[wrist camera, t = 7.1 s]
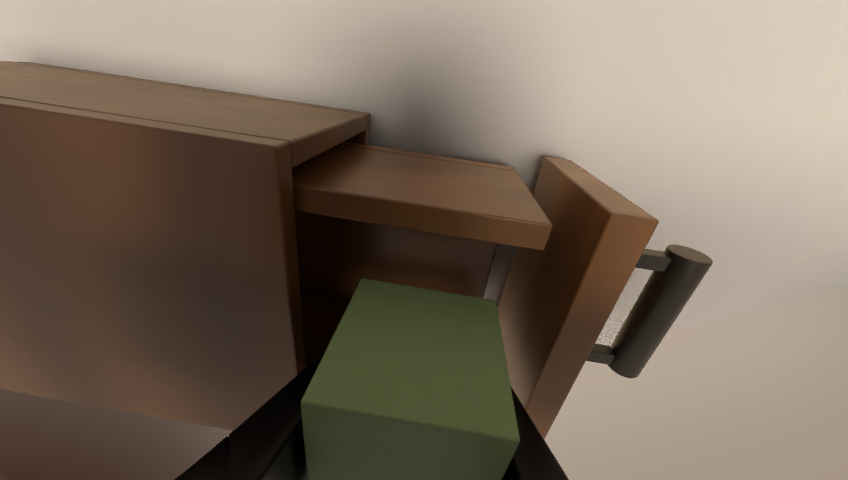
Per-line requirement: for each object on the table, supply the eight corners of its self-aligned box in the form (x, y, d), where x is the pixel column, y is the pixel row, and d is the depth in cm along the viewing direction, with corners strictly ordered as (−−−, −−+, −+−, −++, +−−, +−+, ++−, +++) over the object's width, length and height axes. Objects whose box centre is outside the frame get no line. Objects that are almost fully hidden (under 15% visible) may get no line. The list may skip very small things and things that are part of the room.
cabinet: (370, 113, 14) (275, 146, 7) (361, 305, 20) (302, 443, 12) (31, 62, 15) (-408, 41, 7) (112, 264, 20) (-94, 372, 12)
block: (496, 299, 9) (521, 441, 5) (469, 389, 11) (475, 539, 7) (361, 277, 9) (298, 401, 6) (357, 370, 11) (308, 508, 7)
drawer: (679, 176, 13) (857, 251, 7) (591, 346, 18) (656, 474, 12) (230, 108, 14) (61, 128, 8) (257, 290, 19) (164, 387, 13)
